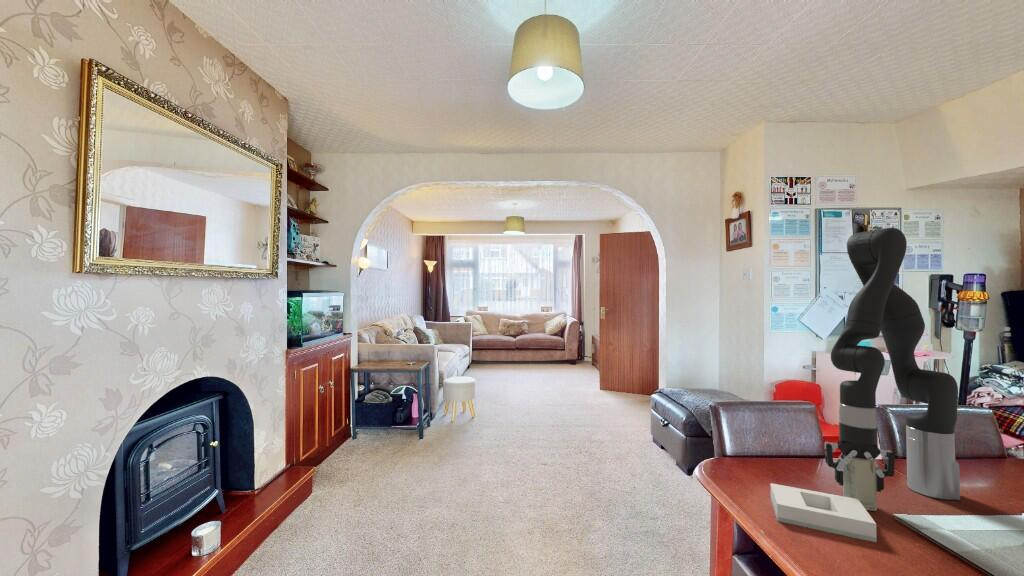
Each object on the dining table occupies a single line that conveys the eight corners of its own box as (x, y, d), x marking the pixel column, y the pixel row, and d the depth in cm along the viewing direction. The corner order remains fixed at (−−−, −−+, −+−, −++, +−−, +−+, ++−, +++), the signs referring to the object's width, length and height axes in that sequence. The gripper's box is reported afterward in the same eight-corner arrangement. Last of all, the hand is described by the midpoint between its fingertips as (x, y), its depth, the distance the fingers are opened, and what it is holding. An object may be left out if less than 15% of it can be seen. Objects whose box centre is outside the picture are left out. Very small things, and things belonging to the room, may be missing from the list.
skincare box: (877, 512, 98) (876, 462, 99) (857, 510, 99) (856, 460, 99) (860, 499, 105) (859, 452, 105) (841, 497, 105) (841, 451, 106)
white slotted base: (858, 515, 96) (857, 499, 97) (876, 542, 86) (876, 523, 86) (770, 498, 105) (770, 483, 105) (777, 521, 94) (777, 503, 94)
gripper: (888, 422, 103) (889, 487, 102) (819, 414, 109) (820, 475, 109) (900, 431, 96) (902, 500, 95) (826, 422, 102) (827, 487, 102)
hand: (858, 487), depth 102 cm, fingers open, 7 cm apart
